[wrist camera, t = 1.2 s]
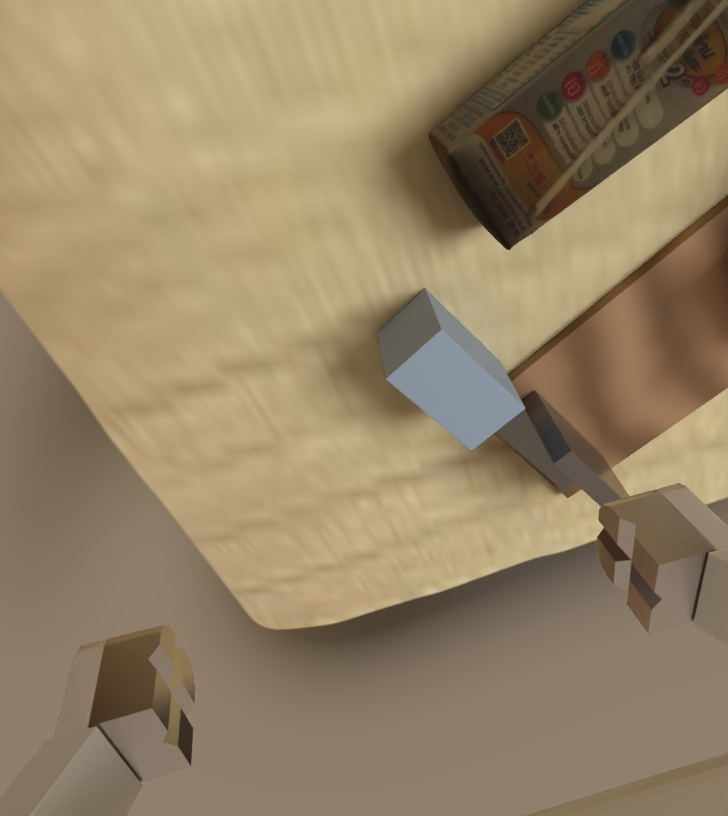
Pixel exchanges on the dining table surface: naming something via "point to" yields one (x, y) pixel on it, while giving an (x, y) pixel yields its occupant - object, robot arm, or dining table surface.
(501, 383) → the book
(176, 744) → the robot arm
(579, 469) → the bookend
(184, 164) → the dining table surface
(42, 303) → the dining table surface
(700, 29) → the beverage carton
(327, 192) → the dining table surface
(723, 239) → the shelf
